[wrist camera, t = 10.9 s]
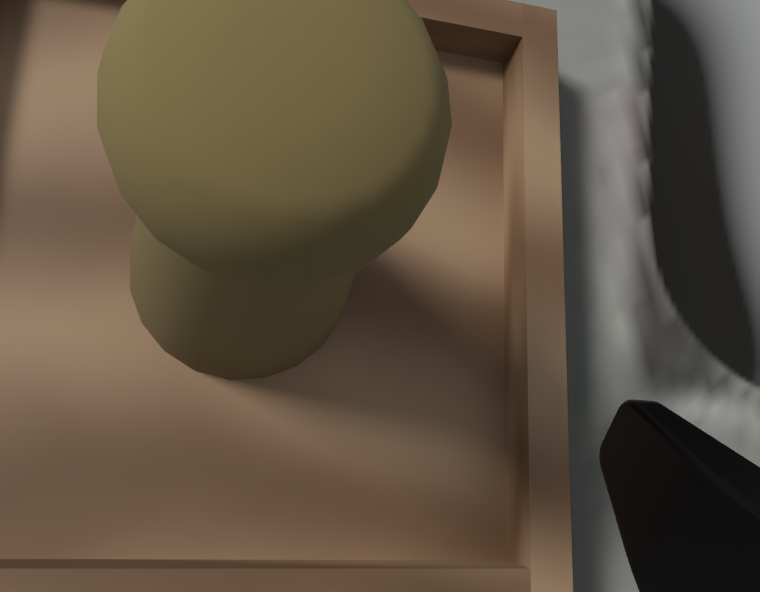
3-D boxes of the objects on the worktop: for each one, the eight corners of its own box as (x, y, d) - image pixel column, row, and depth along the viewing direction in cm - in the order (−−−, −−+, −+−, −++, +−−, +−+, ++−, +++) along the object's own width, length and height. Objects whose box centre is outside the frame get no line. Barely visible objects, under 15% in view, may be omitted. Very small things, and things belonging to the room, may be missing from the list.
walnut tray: (530, 598, 20) (573, 618, 18) (-181, 607, 16) (-246, 633, 14) (522, 53, 24) (556, 10, 22) (-42, -53, 20) (-74, -120, 18)
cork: (284, 138, 20) (373, -192, 10) (387, 314, 20) (590, 161, 10) (87, 225, 18) (-57, -74, 8) (196, 422, 18) (194, 376, 8)
